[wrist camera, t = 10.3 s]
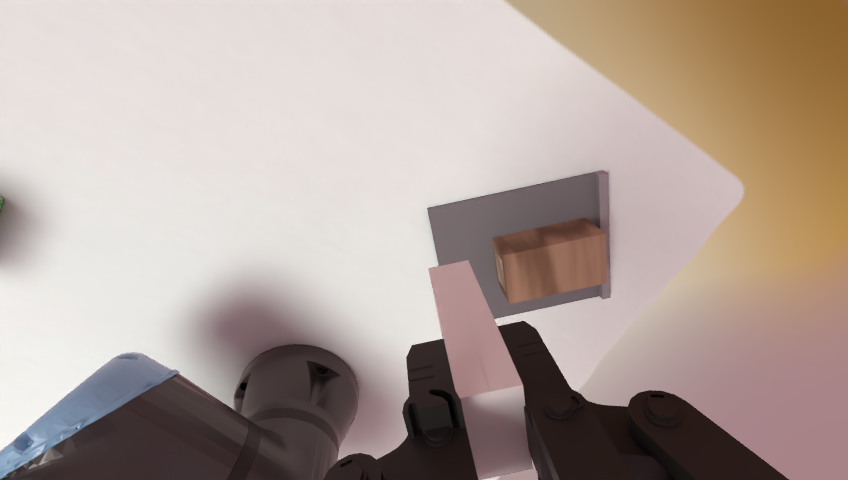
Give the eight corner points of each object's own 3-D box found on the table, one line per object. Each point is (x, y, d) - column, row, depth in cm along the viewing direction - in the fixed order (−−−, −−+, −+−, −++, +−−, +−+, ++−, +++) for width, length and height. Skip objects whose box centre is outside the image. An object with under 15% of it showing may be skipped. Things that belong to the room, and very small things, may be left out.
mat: (451, 326, 53) (452, 331, 52) (427, 208, 46) (428, 211, 45) (605, 292, 53) (610, 297, 52) (602, 170, 47) (607, 173, 46)
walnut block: (509, 304, 46) (606, 283, 46) (502, 255, 44) (605, 233, 44) (497, 282, 50) (586, 263, 51) (491, 237, 48) (584, 217, 48)
